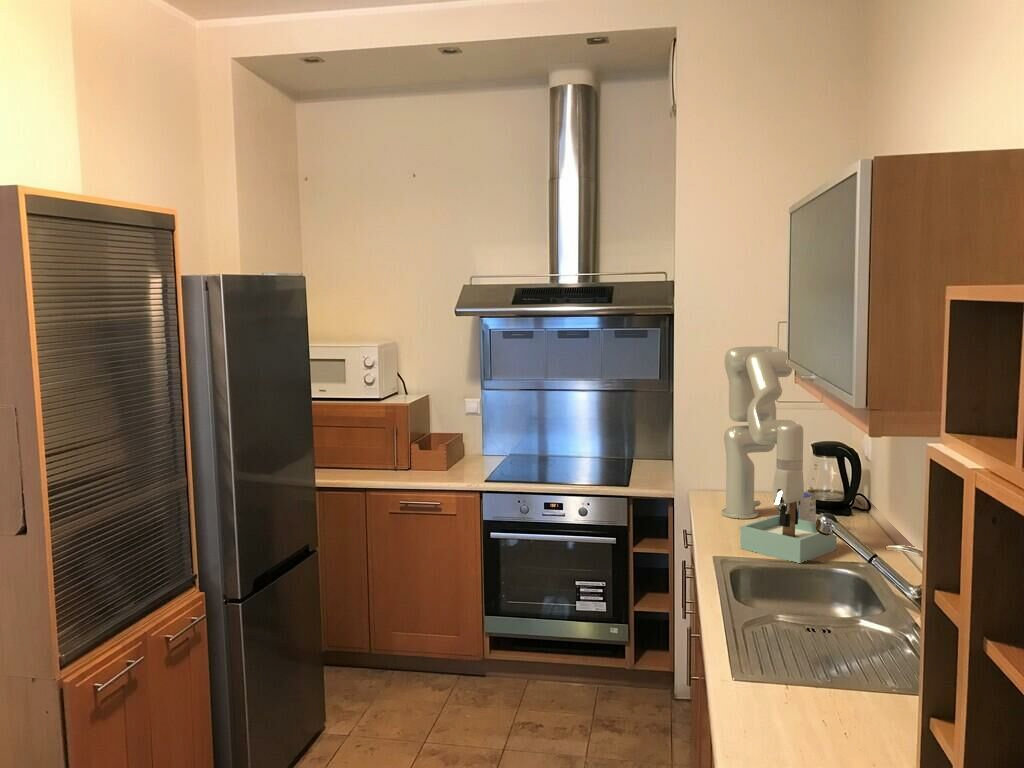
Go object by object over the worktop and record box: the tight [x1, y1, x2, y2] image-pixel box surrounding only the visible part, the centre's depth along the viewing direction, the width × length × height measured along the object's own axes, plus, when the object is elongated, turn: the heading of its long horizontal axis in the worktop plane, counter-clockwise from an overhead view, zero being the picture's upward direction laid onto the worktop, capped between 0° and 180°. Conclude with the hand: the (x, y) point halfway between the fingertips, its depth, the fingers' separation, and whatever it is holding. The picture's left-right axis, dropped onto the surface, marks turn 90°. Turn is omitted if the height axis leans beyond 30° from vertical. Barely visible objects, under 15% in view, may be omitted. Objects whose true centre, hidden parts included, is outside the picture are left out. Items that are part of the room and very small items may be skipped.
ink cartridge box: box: [798, 491, 817, 523], centre depth 269 cm, size 10×6×14 cm, turn 129°
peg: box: [782, 501, 795, 538], centre depth 249 cm, size 4×4×12 cm
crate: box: [739, 514, 838, 564], centre depth 250 cm, size 20×20×7 cm
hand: (788, 524), depth 250 cm, fingers closed on peg, 3 cm apart
